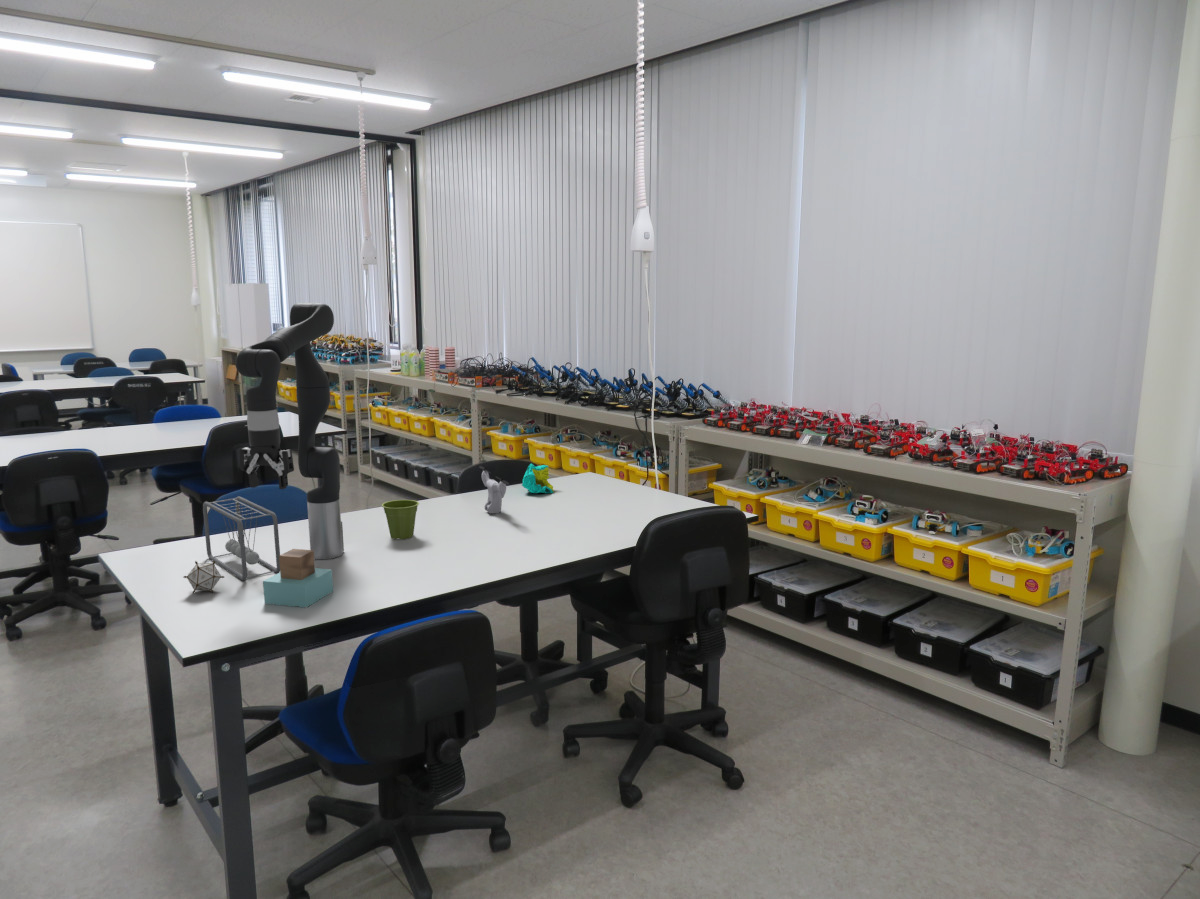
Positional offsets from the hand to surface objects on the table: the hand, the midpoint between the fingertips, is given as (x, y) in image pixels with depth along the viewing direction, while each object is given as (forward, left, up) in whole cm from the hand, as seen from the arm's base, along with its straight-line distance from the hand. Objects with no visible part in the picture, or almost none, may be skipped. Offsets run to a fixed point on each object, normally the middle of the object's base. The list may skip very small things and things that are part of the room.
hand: (268, 487), depth 208 cm
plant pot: (-51, +10, -28) cm, 59 cm away
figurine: (-87, +28, -28) cm, 96 cm away
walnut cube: (+5, +10, -22) cm, 24 cm away
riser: (+5, +10, -28) cm, 30 cm away
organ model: (-122, +33, -28) cm, 130 cm away
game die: (+7, -17, -28) cm, 33 cm away
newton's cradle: (-14, -21, -28) cm, 37 cm away
